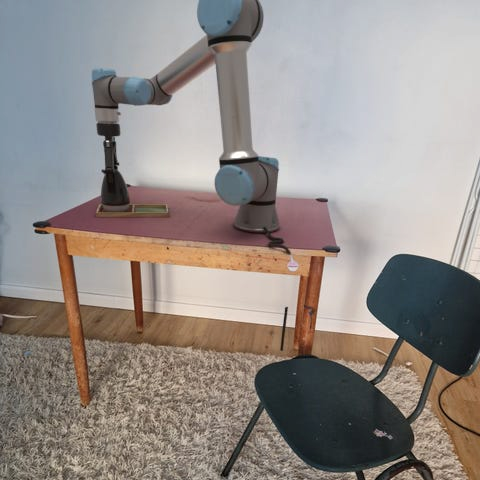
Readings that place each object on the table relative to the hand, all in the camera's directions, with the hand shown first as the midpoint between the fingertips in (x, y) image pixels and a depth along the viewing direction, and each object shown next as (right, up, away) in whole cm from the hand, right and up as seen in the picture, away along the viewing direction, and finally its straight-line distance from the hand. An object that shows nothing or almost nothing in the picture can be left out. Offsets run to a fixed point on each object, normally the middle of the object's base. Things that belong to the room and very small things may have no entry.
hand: (113, 188), depth 149 cm
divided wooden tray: (+6, -7, +5) cm, 11 cm away
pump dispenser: (0, -8, +4) cm, 9 cm away
